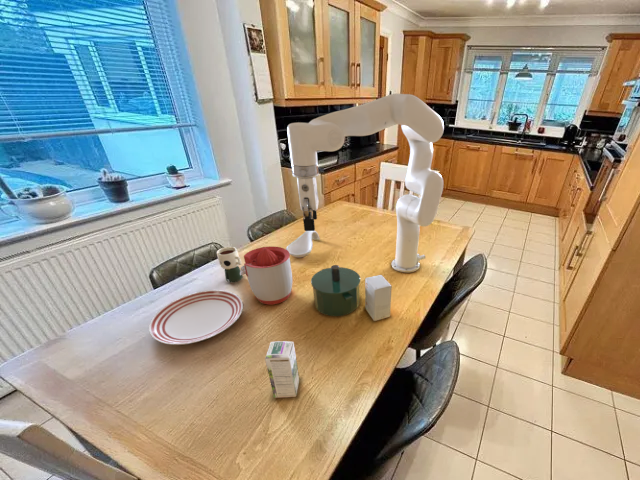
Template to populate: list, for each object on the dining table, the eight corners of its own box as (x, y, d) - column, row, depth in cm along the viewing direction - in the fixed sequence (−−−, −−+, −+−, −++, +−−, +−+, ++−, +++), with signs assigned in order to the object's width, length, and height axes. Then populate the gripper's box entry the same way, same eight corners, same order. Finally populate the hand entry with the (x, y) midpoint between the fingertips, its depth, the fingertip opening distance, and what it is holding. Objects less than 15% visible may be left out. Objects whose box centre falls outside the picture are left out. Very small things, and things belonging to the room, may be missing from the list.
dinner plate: (198, 361, 87) (195, 352, 86) (130, 336, 95) (126, 328, 93) (262, 307, 109) (260, 299, 107) (202, 290, 116) (200, 283, 115)
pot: (345, 282, 124) (344, 262, 119) (370, 311, 109) (370, 289, 104) (306, 293, 117) (303, 272, 112) (328, 326, 102) (326, 303, 96)
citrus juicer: (246, 289, 118) (234, 242, 107) (292, 281, 123) (285, 236, 112) (247, 313, 106) (233, 263, 95) (298, 303, 112) (291, 255, 100)
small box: (390, 316, 107) (392, 285, 100) (373, 321, 104) (374, 290, 97) (380, 304, 113) (381, 274, 106) (364, 308, 110) (364, 277, 103)
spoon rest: (306, 262, 137) (304, 248, 133) (282, 259, 139) (280, 244, 135) (326, 240, 157) (325, 227, 153) (304, 238, 158) (303, 225, 154)
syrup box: (278, 380, 83) (268, 341, 75) (300, 379, 83) (293, 340, 75) (273, 398, 78) (263, 358, 70) (297, 397, 78) (289, 357, 70)
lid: (347, 265, 118) (347, 251, 114) (369, 287, 106) (369, 272, 102) (304, 276, 110) (302, 261, 107) (322, 301, 98) (320, 285, 95)
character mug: (217, 281, 122) (208, 252, 115) (230, 272, 128) (222, 244, 121) (239, 286, 119) (231, 257, 112) (251, 278, 125) (244, 249, 118)
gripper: (316, 177, 84) (321, 235, 93) (319, 163, 98) (323, 215, 108) (288, 177, 83) (296, 235, 93) (295, 163, 97) (302, 215, 107)
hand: (311, 224), depth 100 cm, fingers open, 9 cm apart
